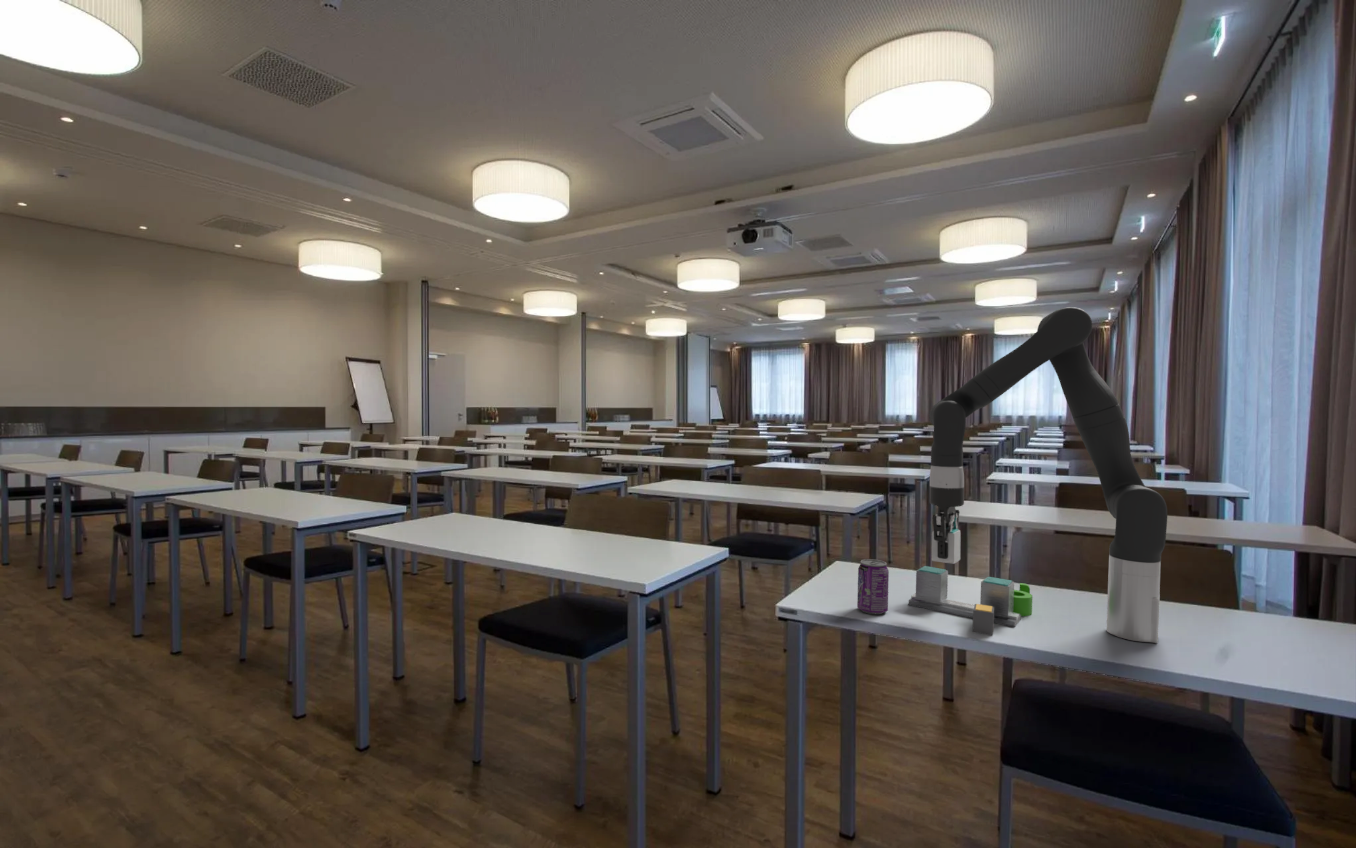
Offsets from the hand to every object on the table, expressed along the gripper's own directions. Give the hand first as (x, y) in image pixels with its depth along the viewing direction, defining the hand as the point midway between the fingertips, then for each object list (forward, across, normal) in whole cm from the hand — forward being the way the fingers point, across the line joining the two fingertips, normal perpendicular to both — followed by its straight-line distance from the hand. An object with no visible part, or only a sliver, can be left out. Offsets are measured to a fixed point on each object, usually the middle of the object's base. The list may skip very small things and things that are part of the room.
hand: (946, 555), depth 148 cm
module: (+1, 0, 0) cm, 1 cm away
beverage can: (+14, -8, +15) cm, 22 cm away
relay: (+15, -4, -9) cm, 18 cm away
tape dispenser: (+16, +20, -11) cm, 28 cm away
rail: (+15, +7, -2) cm, 16 cm away
